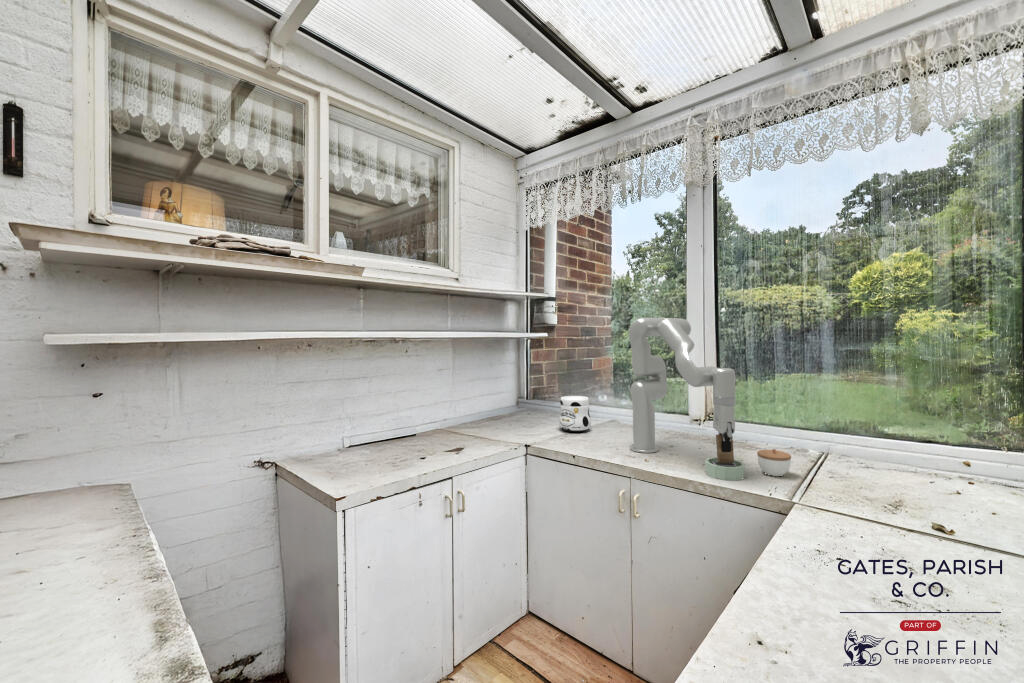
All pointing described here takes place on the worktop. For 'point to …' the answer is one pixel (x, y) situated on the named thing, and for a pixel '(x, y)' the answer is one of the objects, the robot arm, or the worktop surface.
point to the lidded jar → (774, 462)
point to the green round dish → (724, 469)
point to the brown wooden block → (724, 456)
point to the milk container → (574, 414)
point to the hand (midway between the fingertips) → (724, 450)
